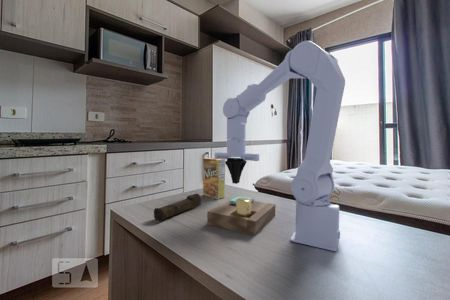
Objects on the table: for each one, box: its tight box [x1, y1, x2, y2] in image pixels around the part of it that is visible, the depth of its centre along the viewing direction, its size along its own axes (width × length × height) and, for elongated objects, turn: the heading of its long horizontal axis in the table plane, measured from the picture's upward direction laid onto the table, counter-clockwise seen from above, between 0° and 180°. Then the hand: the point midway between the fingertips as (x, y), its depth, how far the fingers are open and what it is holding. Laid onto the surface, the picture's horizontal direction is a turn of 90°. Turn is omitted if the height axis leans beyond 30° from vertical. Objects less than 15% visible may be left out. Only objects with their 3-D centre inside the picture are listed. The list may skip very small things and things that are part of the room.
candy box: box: [202, 157, 226, 200], centre depth 88 cm, size 9×4×15 cm, turn 49°
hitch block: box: [206, 199, 276, 236], centre depth 64 cm, size 14×16×4 cm
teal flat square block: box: [229, 195, 255, 204], centre depth 68 cm, size 6×6×1 cm
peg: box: [236, 198, 251, 218], centre depth 59 cm, size 4×4×7 cm
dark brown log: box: [153, 193, 202, 222], centre depth 70 cm, size 19×4×5 cm, turn 144°
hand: (235, 182), depth 69 cm, fingers closed
